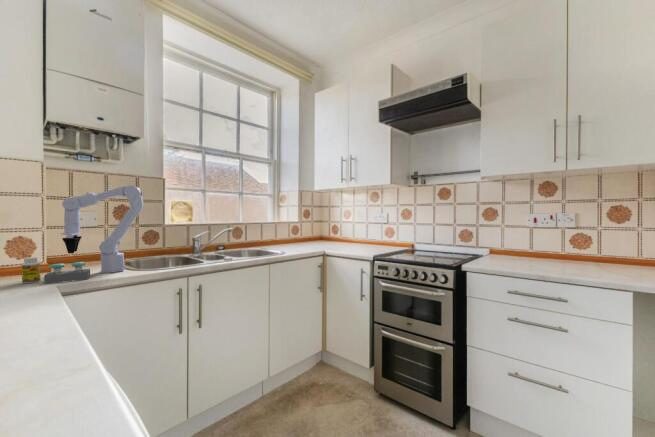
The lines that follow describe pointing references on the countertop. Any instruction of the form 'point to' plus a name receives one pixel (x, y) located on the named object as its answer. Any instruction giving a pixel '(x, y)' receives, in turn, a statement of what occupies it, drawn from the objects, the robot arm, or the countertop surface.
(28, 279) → the supplement bottle
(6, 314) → the countertop surface
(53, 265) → the knob
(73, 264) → the knob
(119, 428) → the countertop surface
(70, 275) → the panel box
